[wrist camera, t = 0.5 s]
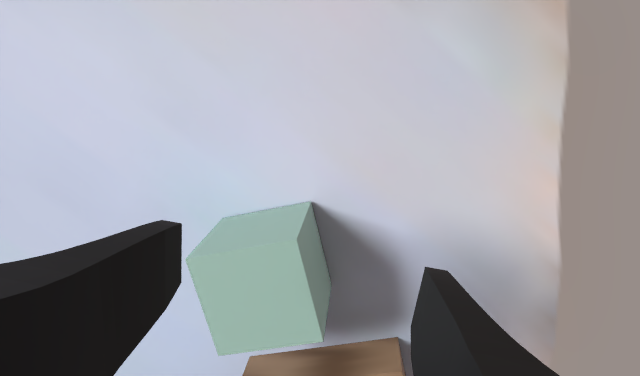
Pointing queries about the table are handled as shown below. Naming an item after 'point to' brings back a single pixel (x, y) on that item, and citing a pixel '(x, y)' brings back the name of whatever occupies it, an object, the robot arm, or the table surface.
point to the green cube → (263, 280)
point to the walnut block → (333, 361)
